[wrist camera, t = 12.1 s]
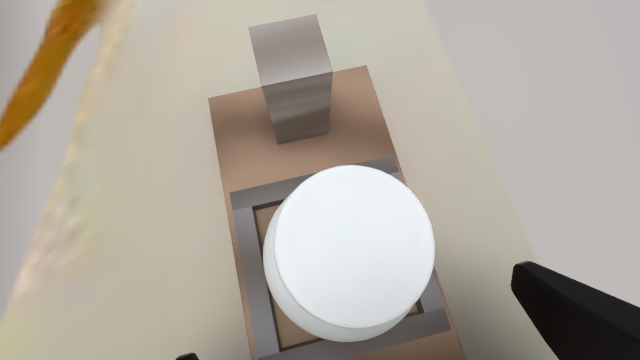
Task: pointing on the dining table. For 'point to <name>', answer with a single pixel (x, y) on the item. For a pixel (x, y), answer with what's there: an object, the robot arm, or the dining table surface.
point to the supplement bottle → (348, 253)
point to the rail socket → (294, 168)
